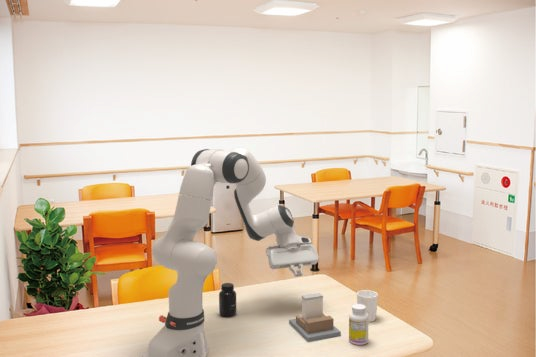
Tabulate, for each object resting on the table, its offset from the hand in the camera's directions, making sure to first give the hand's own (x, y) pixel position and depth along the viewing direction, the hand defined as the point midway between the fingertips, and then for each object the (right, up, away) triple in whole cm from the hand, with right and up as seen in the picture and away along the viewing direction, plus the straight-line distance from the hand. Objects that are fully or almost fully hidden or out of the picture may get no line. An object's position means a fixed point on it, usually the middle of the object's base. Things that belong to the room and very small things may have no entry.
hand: (298, 275), depth 207 cm
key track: (+5, -18, -9) cm, 21 cm away
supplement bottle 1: (-28, -16, +5) cm, 32 cm away
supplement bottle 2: (+20, -20, -20) cm, 34 cm away
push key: (+5, -16, -8) cm, 19 cm away
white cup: (+26, -16, -1) cm, 31 cm away
